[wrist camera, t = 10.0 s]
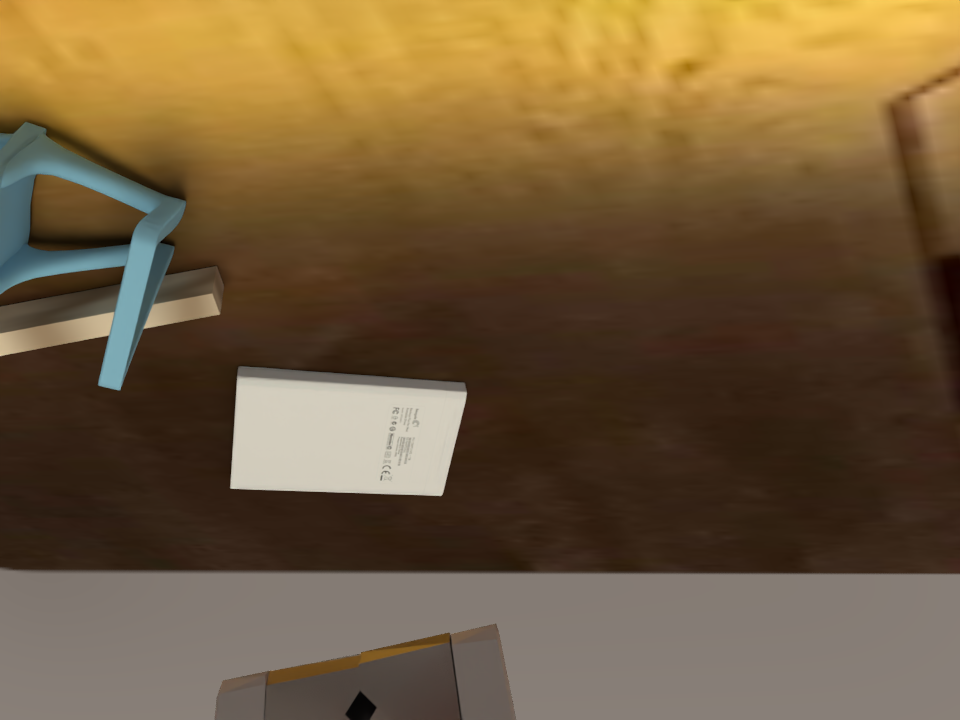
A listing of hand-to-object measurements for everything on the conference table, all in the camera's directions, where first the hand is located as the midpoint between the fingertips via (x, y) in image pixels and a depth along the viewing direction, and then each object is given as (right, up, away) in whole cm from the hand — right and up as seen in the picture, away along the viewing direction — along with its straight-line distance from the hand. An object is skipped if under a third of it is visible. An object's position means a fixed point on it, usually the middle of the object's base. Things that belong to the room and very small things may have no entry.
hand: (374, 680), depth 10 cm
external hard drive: (-7, 0, +43) cm, 43 cm away
